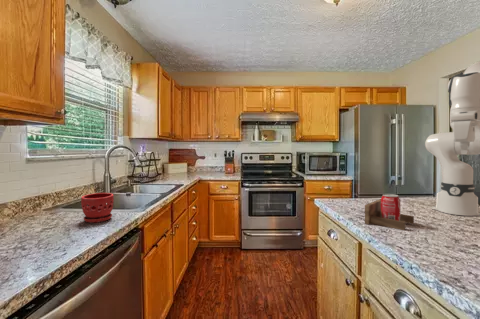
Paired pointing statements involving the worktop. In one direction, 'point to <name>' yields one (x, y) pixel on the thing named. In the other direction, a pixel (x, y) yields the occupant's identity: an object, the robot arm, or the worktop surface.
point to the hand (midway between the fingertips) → (464, 154)
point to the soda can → (390, 206)
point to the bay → (375, 218)
